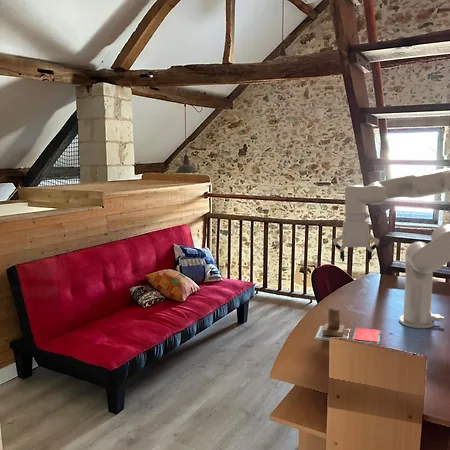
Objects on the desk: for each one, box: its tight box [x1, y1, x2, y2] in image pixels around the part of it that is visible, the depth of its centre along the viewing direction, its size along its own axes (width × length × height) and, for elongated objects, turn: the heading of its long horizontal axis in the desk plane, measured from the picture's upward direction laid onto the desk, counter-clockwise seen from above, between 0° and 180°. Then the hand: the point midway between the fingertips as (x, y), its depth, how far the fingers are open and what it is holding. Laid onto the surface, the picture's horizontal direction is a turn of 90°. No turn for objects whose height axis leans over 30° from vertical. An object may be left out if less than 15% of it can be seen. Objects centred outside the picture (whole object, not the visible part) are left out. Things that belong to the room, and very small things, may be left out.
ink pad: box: [351, 327, 381, 346], centre depth 164 cm, size 9×12×2 cm
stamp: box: [323, 307, 346, 337], centre depth 167 cm, size 7×7×9 cm
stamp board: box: [314, 325, 352, 342], centre depth 168 cm, size 12×13×1 cm
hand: (355, 261), depth 178 cm, fingers open, 9 cm apart
